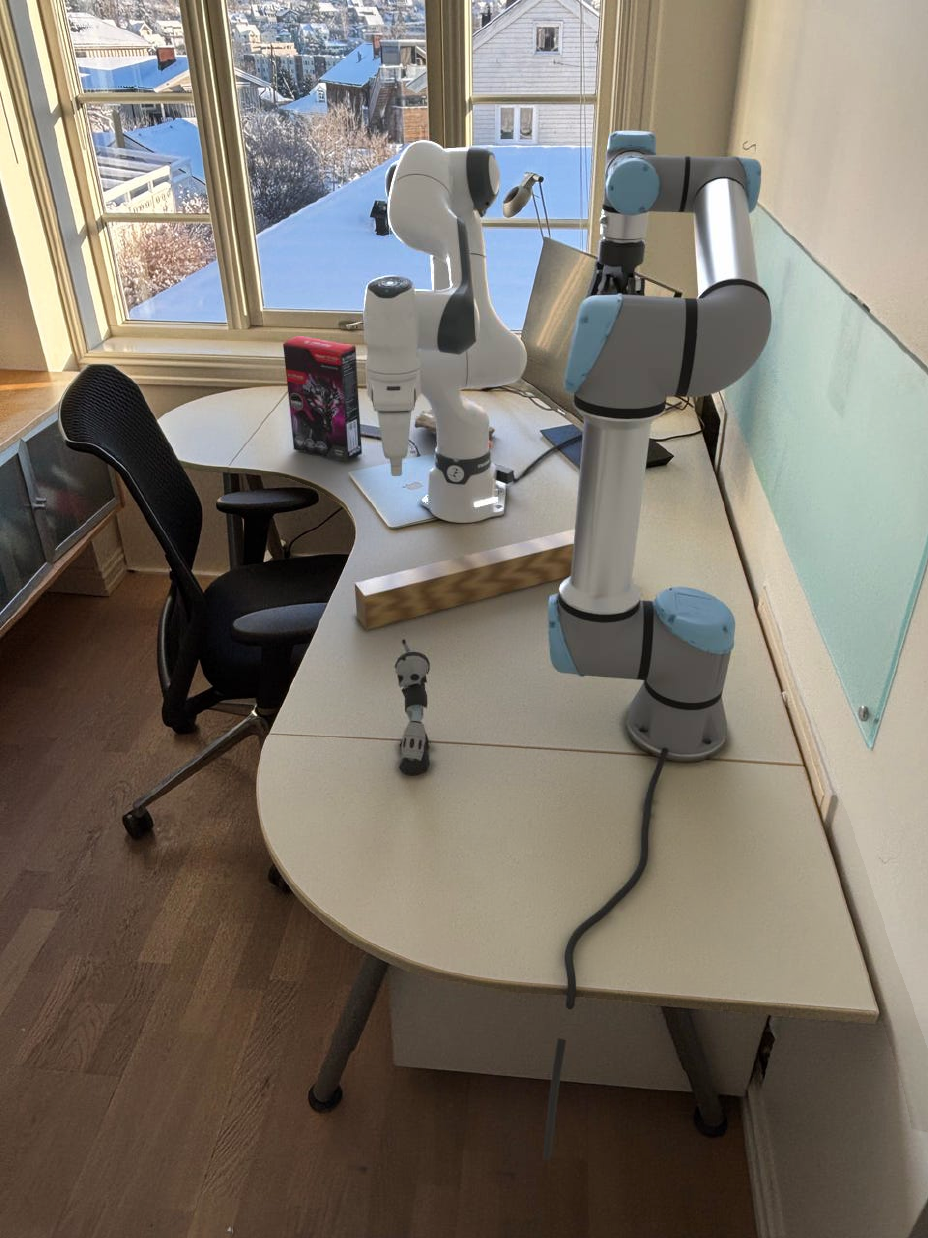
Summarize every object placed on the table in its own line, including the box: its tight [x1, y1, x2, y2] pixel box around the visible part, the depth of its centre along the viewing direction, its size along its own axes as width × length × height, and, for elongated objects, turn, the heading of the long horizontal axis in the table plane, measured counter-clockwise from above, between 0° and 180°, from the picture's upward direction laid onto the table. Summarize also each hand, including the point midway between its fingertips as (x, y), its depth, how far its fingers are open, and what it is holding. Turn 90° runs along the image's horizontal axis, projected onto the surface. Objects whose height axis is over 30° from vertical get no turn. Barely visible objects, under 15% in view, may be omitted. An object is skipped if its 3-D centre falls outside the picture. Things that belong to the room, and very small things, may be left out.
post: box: [354, 528, 575, 631], centre depth 175 cm, size 54×5×7 cm, turn 117°
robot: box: [394, 638, 431, 776], centre depth 132 cm, size 20×5×20 cm, turn 3°
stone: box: [413, 409, 496, 439], centre depth 236 cm, size 21×15×6 cm
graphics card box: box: [282, 335, 363, 463], centre depth 222 cm, size 17×7×27 cm, turn 62°
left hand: (396, 463), depth 157 cm, fingers open, 8 cm apart
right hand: (610, 366), depth 162 cm, fingers open, 13 cm apart
